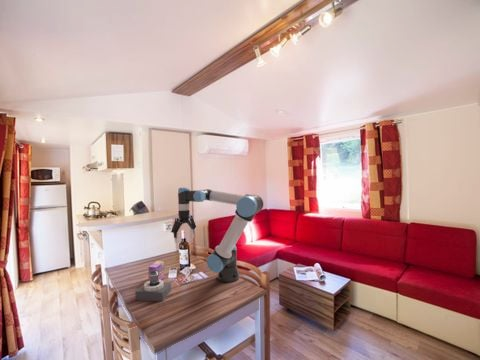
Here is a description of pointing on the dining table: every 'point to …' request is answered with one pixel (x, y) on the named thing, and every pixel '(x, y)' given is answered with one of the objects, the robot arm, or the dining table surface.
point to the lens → (154, 278)
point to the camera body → (153, 291)
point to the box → (160, 267)
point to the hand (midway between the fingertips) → (184, 240)
